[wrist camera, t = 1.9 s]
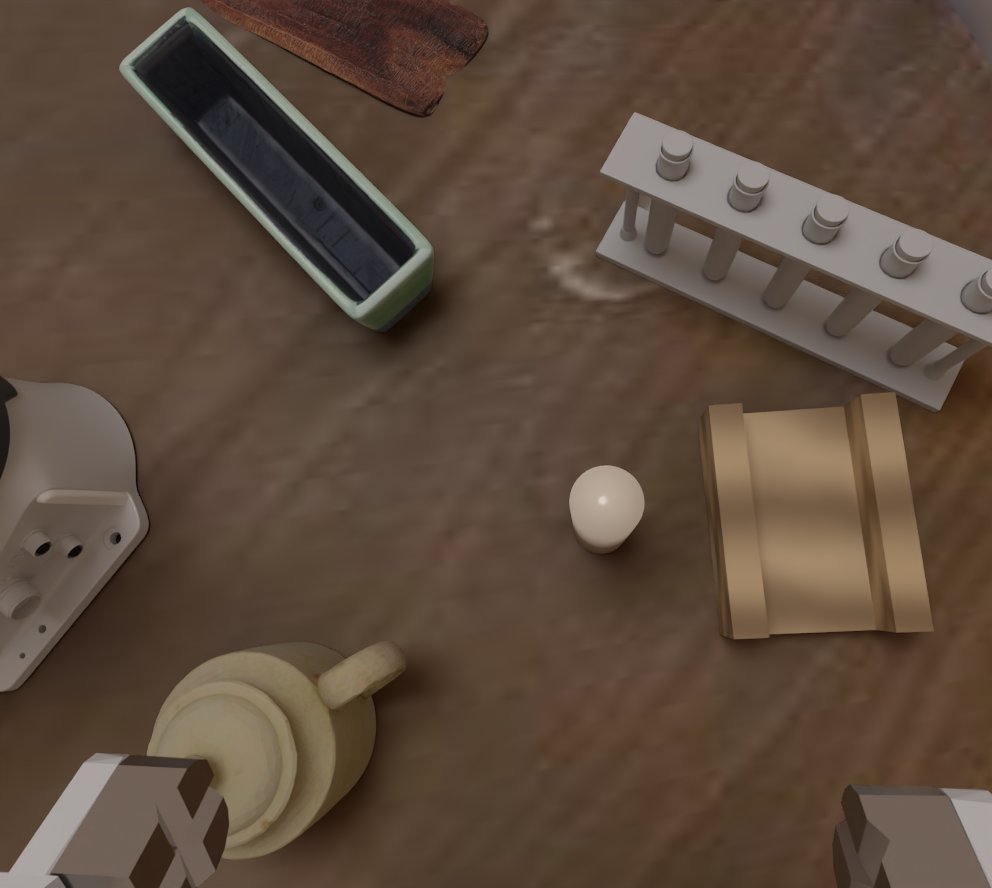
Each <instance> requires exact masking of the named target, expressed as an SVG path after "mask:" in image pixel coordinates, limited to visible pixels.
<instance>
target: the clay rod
mask: <svg viewBox="0 0 992 888" xmlns="http://www.w3.org/2000/svg"><path fill="white" fill-rule="evenodd" d="M569 505H570V511H571V517H572V523H573V528H574V533H575V536H576V539H577V540H578V542H579V543H580V545H581V546H582V547H584V548H585V549H586V550H588V551H590V552H593V553H597V554H606V553H610V552H612V551H614V550H616V549H617V548H619V547H620V546H621V545H622V543H623V542H624V541H625V540H626V538H627V537H628V536H629V535H630V533H631V532H632V531H633V529H634V528H635V527H636V526H637V524H638V523H639V521H640V519H641V517H642V515H643V511H644V495H643V492H642V489H641V487H640V485H639V483H638V482H637V480H636V479H635V478H634V477H633V476H632V475H631V474H630V473H628V472H627V471H625V470H623V469H621V468H618V467H615V466H598V467H594V468H592V469H590V470H588V471H586V472H585V473H583V474H582V475H581V476H580V477H579V478H578V479H577V481H576V482H575V484H574V485H573V487H572V490H571V493H570V499H569Z"/></svg>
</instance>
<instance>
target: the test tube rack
mask: <svg viewBox="0 0 992 888" xmlns="http://www.w3.org/2000/svg"><path fill="white" fill-rule="evenodd" d="M657 162H658V165H657ZM656 165H657V171H656ZM688 166H689V170H688ZM687 170H688V173H687ZM600 176H603V177H605V178H607V179H609V180H612V181H614V182H616V183H618V184H621V185H623V186H625V187H627V193H626V201H624V202H623V204H622V206H621V207H620V209H619V211H618V213H617V215H616V216H615V218H614V220H613V222H612V223H611V225H610V227H609V229H608V231H607V232H606V234H605V236H604V238H603V239H602V241H601V243H600V245H599V246H598V248H597V250H596V256H597V257H599V258H601V259H604V260H606V261H608V262H610V263H612V264H614V265H617V266H619V267H621V268H623V269H625V270H627V271H630V272H632V273H634V274H636V275H638V276H640V277H643V278H645V279H647V280H649V281H651V282H653V283H656V284H658V285H660V286H662V287H664V288H666V289H669V290H671V291H673V292H675V293H677V294H679V295H681V296H684V297H686V298H688V299H690V300H692V301H694V302H697V303H699V304H701V305H703V306H705V307H707V308H710V309H712V310H714V311H716V312H718V313H720V314H723V315H725V316H727V317H729V318H731V319H733V320H736V321H738V322H740V323H742V324H744V325H746V326H748V327H751V328H753V329H755V330H757V331H759V332H761V333H764V334H766V335H768V336H770V337H772V338H774V339H777V340H779V341H781V342H783V343H785V344H787V345H790V346H792V347H794V348H796V349H798V350H800V351H802V352H805V353H807V354H809V355H811V356H813V357H815V358H818V359H820V360H822V361H824V362H826V363H828V364H831V365H833V366H835V367H837V368H839V369H841V370H844V371H846V372H848V373H850V374H852V375H854V376H856V377H859V378H861V379H863V380H865V381H867V382H869V383H872V384H874V385H876V386H878V387H880V388H882V389H885V390H887V391H889V392H895V394H896V395H897V396H900V397H902V398H904V399H906V400H908V401H910V402H913V403H915V404H917V405H919V406H921V407H923V408H925V409H928V410H930V411H932V412H934V413H936V412H937V411H939V410H940V409H941V407H942V405H943V403H944V401H945V399H946V397H947V395H948V393H949V391H950V389H951V387H952V385H953V383H954V381H955V379H956V377H957V375H958V373H959V371H960V369H961V367H962V365H963V362H964V360H965V359H966V358H968V357H970V356H971V355H973V354H975V353H976V352H978V351H980V350H981V349H983V348H984V347H986V346H990V347H992V311H991V312H989V311H990V310H992V260H990V259H987V258H985V257H983V256H980V255H978V254H975V253H973V252H971V251H968V250H966V249H963V248H961V247H958V246H956V245H954V244H951V243H949V242H946V241H944V240H942V239H939V238H937V237H934V236H932V235H930V234H928V233H926V232H925V231H923V230H920V229H915V228H913V227H910V226H908V225H905V224H903V223H901V222H898V221H896V220H893V219H891V218H889V217H886V216H884V215H881V214H879V213H877V212H874V211H872V210H869V209H867V208H865V207H862V206H860V205H857V204H855V203H852V202H850V201H848V200H845V199H844V198H842V197H841V196H838V195H833V194H831V193H828V192H826V191H824V190H821V189H819V188H816V187H814V186H812V185H809V184H807V183H804V182H802V181H800V180H797V179H795V178H792V177H790V176H787V175H785V174H783V173H780V172H778V171H775V170H773V169H771V168H768V167H766V166H764V165H763V164H761V163H759V162H754V161H751V160H749V159H747V158H744V157H742V156H739V155H737V154H734V153H732V152H730V151H727V150H725V149H722V148H720V147H718V146H715V145H713V144H710V143H708V142H706V141H703V140H701V139H698V138H696V137H694V136H691V135H689V134H688V133H686V132H684V131H681V130H677V129H674V128H672V127H670V126H667V125H665V124H662V123H660V122H657V121H655V120H653V119H650V118H648V117H645V116H643V115H641V114H638V113H636V112H634V113H633V115H632V117H631V118H630V120H629V122H628V124H627V125H626V127H625V129H624V131H623V132H622V134H621V136H620V138H619V139H618V141H617V143H616V145H615V146H614V148H613V150H612V152H611V153H610V155H609V157H608V159H607V160H606V162H605V164H604V166H603V167H602V169H601V171H600ZM730 190H731V191H730ZM729 191H730V193H729ZM639 193H641V194H643V195H646V196H648V197H650V198H652V201H651V206H650V212H649V211H647V210H645V209H643V208H640V207H638V199H639ZM728 193H729V196H728ZM727 196H728V199H727ZM760 200H761V202H760ZM759 202H760V204H759ZM758 204H759V206H758ZM757 206H758V207H757ZM678 210H680V211H682V212H685V213H687V214H689V215H691V216H694V217H696V218H698V219H701V220H703V221H705V222H707V223H710V224H712V225H714V226H717V229H716V232H715V235H714V238H713V239H710V238H708V237H706V236H704V235H701V234H699V233H697V232H695V231H692V230H690V229H688V228H686V227H683V226H681V225H679V224H676V223H675V219H676V215H677V211H678ZM807 218H808V219H807ZM806 219H807V220H806ZM805 220H806V222H805ZM804 222H805V224H804V225H803V223H804ZM802 226H803V227H802ZM835 234H836V235H835ZM834 236H835V237H834ZM833 237H834V239H833V240H832V238H833ZM743 238H744V239H746V240H748V241H751V242H753V243H755V244H758V245H760V246H762V247H764V248H767V249H769V250H771V251H774V252H776V253H778V254H780V255H783V256H785V257H784V259H783V260H782V262H781V264H780V265H779V267H778V268H776V267H774V266H771V265H769V264H767V263H765V262H762V261H760V260H758V259H756V258H753V257H751V256H749V255H747V254H744V253H742V252H740V251H738V249H739V247H740V244H741V242H742V240H743ZM831 240H832V241H831ZM830 241H831V242H830ZM887 249H888V250H887ZM886 250H887V251H886ZM884 251H886V252H885V253H884ZM883 253H884V254H883ZM882 254H883V255H882ZM881 255H882V256H881ZM880 257H881V258H880ZM811 268H812V269H815V270H817V271H819V272H822V273H824V274H826V275H828V276H831V277H833V278H835V279H837V280H840V281H842V282H844V283H847V284H849V285H851V286H853V287H854V288H853V289H852V290H851V291H850V293H849V294H848V295H847V296H846V297H845V298H844V297H841V296H839V295H837V294H835V293H832V292H830V291H828V290H826V289H823V288H821V287H819V286H817V285H814V284H812V283H810V282H808V281H805V280H804V278H805V277H806V276H807V274H808V273H809V271H810V270H811ZM913 270H914V271H913ZM912 271H913V272H912ZM911 272H912V273H911ZM910 273H911V275H910V276H908V275H909V274H910ZM907 276H908V277H907ZM970 282H971V283H970ZM969 283H970V284H969ZM967 284H969V285H968V286H966V285H967ZM965 286H966V287H965ZM964 287H965V288H964ZM963 288H964V289H963ZM883 300H885V301H888V302H890V303H892V304H895V305H897V306H899V307H901V308H904V309H906V310H908V311H910V312H913V313H915V314H917V315H920V316H922V317H924V318H926V319H925V320H924V321H923V322H921V323H920V324H919V325H918V326H916V327H915V328H911V327H909V326H907V325H905V324H902V323H900V322H898V321H896V320H893V319H891V318H889V317H887V316H884V315H882V314H880V313H878V312H875V311H873V309H874V308H875V307H876V306H877V305H878V304H879V303H880V302H881V301H883ZM987 312H989V313H988V314H986V313H987ZM957 333H961V334H963V335H965V336H967V337H970V338H972V339H971V340H969V341H968V342H966V343H965V344H963V345H962V346H960V347H958V348H957V347H955V346H952V345H950V344H948V343H945V342H946V341H947V340H949V339H950V338H951V337H953V336H954V335H956V334H957Z"/></svg>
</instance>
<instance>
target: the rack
mask: <svg viewBox="0 0 992 888" xmlns="http://www.w3.org/2000/svg"><path fill="white" fill-rule="evenodd" d="M698 430H699V439H700V449H701V458H702V468H703V477H704V487H705V496H706V506H707V516H708V525H709V535H710V544H711V554H712V563H713V573H714V583H715V592H716V602H717V611H718V621H719V630H720V635H722V636H725V637H728V638H731V639H752V638H769V634H790V633H815V632H839V631H863V630H880V631H888V632H895V633H900V632H925V631H934V630H933V624H932V617H931V611H930V605H929V599H928V593H927V586H926V580H925V574H924V568H923V561H922V555H921V549H920V543H919V537H918V530H917V524H916V518H915V512H914V506H913V499H912V493H911V487H910V481H909V474H908V468H907V462H906V456H905V450H904V443H903V437H902V431H901V425H900V418H899V412H898V406H897V400H896V394H895V392H886V393H873V394H860V395H859V396H858V397H856V398H855V399H853V400H852V401H851V402H849V403H848V404H846V405H845V406H843V407H829V408H815V409H801V410H787V411H773V412H759V413H745V414H743V410H742V403H736V404H722V405H709V406H708V407H707V409H706V410H705V412H704V413H703V415H702V416H701V418H700V419H699V421H698Z"/></svg>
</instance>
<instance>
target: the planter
mask: <svg viewBox="0 0 992 888" xmlns="http://www.w3.org/2000/svg"><path fill="white" fill-rule="evenodd" d="M119 70H120V72H121V73H122V75H123V76H124V78H125V79H126V80H127V81H128V82H129V83H130V85H131V86H132V87H133V88H134V89H135V90H136V91H137V92H138V93H139V94H140V96H141V97H142V98H143V99H144V100H145V101H146V102H147V103H148V104H149V105H150V106H151V107H152V109H153V110H154V111H155V112H156V113H157V114H158V115H159V116H160V117H161V118H162V119H163V120H164V121H165V122H166V124H167V125H168V126H169V127H170V128H171V129H172V130H173V131H174V132H175V133H176V134H177V135H178V136H179V137H180V139H181V140H182V141H183V142H184V143H185V144H186V145H187V146H188V147H189V148H190V149H191V150H192V151H193V152H194V153H195V155H196V156H197V157H198V158H199V159H200V160H201V161H202V162H203V163H204V164H205V165H206V166H207V167H208V168H209V169H210V171H211V172H212V173H213V174H214V175H215V176H216V177H217V178H218V179H219V180H220V181H221V182H222V183H223V184H224V185H225V186H226V188H227V189H228V190H229V191H230V192H231V193H232V194H233V195H234V196H235V197H236V198H237V199H238V200H239V201H240V202H241V203H242V205H243V206H244V207H245V208H246V209H247V210H248V211H249V212H250V213H251V214H252V215H253V216H254V217H255V218H256V219H257V220H258V222H259V223H260V224H261V225H262V226H263V227H264V228H265V229H266V230H267V231H268V232H269V233H270V234H271V235H272V236H273V237H274V239H275V240H276V241H277V242H278V243H279V244H280V245H281V246H282V247H283V248H284V249H285V250H286V251H287V252H288V253H289V254H290V255H291V256H292V258H293V259H294V260H295V261H296V262H297V263H298V264H299V265H300V266H301V267H302V268H303V269H304V270H305V271H306V272H307V273H308V274H309V276H310V277H311V278H312V279H313V280H314V281H315V282H316V283H317V284H318V285H319V286H320V287H321V288H322V289H323V290H324V291H325V292H326V293H327V294H328V295H329V296H330V297H331V299H332V300H333V301H334V302H335V303H336V304H337V305H338V306H339V307H340V308H341V309H342V310H343V311H344V312H345V313H346V314H347V315H348V316H350V317H351V318H352V319H353V320H355V321H356V322H358V323H359V324H361V325H363V326H365V327H368V328H370V329H372V330H375V331H377V332H380V333H384V332H387V331H388V330H390V329H391V328H392V327H393V326H394V325H395V324H396V323H397V322H399V321H400V320H401V319H402V318H403V317H404V316H405V315H406V314H407V313H408V312H410V311H411V310H412V309H413V308H414V307H415V306H416V305H417V304H418V303H419V302H420V301H422V300H423V299H424V298H425V297H426V296H427V295H428V294H429V293H430V291H431V288H432V281H433V270H434V249H433V247H432V246H431V244H430V243H429V241H428V240H427V239H426V238H425V237H424V236H423V235H422V234H421V233H420V232H419V231H418V230H417V228H416V227H415V226H414V225H413V224H412V223H411V222H410V221H409V220H408V219H407V218H406V217H405V216H404V215H403V214H402V213H401V212H400V211H399V210H398V209H397V208H396V207H395V206H394V205H393V204H392V203H391V202H390V201H389V200H388V199H387V198H386V197H385V196H384V195H383V194H382V193H381V192H380V191H379V190H378V189H377V188H376V187H375V186H374V185H373V184H372V183H371V182H370V181H369V180H368V179H367V178H366V177H365V176H364V175H363V174H362V173H361V172H360V171H359V170H358V169H357V168H356V167H355V166H354V165H353V164H352V163H351V162H350V161H349V160H348V159H347V158H346V157H345V156H343V155H342V154H341V153H340V152H339V151H338V150H337V149H336V148H335V147H334V146H333V145H332V144H331V143H330V142H329V141H328V140H327V139H326V138H325V137H324V136H323V135H322V134H321V133H320V132H319V131H318V130H317V129H316V128H315V127H314V126H313V125H312V124H311V123H310V122H309V121H308V120H307V119H306V118H305V117H304V116H303V115H302V114H301V113H300V112H299V111H298V110H297V109H296V108H295V107H294V106H293V105H292V104H291V103H290V102H289V101H288V100H287V99H286V98H285V97H284V96H283V95H282V94H281V93H280V92H279V91H278V90H277V89H276V88H275V87H274V86H273V85H272V84H271V83H270V82H269V81H268V80H267V79H266V78H265V77H264V76H263V75H262V74H261V73H260V72H259V71H258V70H257V69H255V68H254V67H253V66H252V65H251V64H250V63H249V62H248V61H247V60H246V59H245V58H244V57H243V56H242V55H241V54H240V53H239V52H238V51H237V50H236V49H235V48H234V47H233V46H232V45H231V44H230V43H229V42H228V41H227V40H226V39H225V38H224V37H223V36H222V35H221V34H220V33H219V32H218V31H217V30H216V29H215V28H214V27H213V26H212V25H211V24H210V23H208V22H207V21H206V20H205V19H204V18H203V17H202V16H201V15H200V14H199V13H198V12H196V11H195V10H194V9H192V8H184V9H182V10H180V11H179V12H178V13H176V14H175V15H174V16H173V17H172V18H171V19H169V20H168V21H167V22H166V23H165V24H164V25H162V26H161V27H160V28H159V29H158V30H157V31H155V32H154V33H153V34H152V35H151V36H150V37H148V38H147V39H146V40H145V41H144V42H143V43H142V44H140V45H139V46H138V47H137V48H136V49H135V50H134V51H133V52H131V53H130V54H129V55H128V56H127V57H126V58H125V59H124V60H123V61H122V63H121V64H120V67H119Z"/></svg>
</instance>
